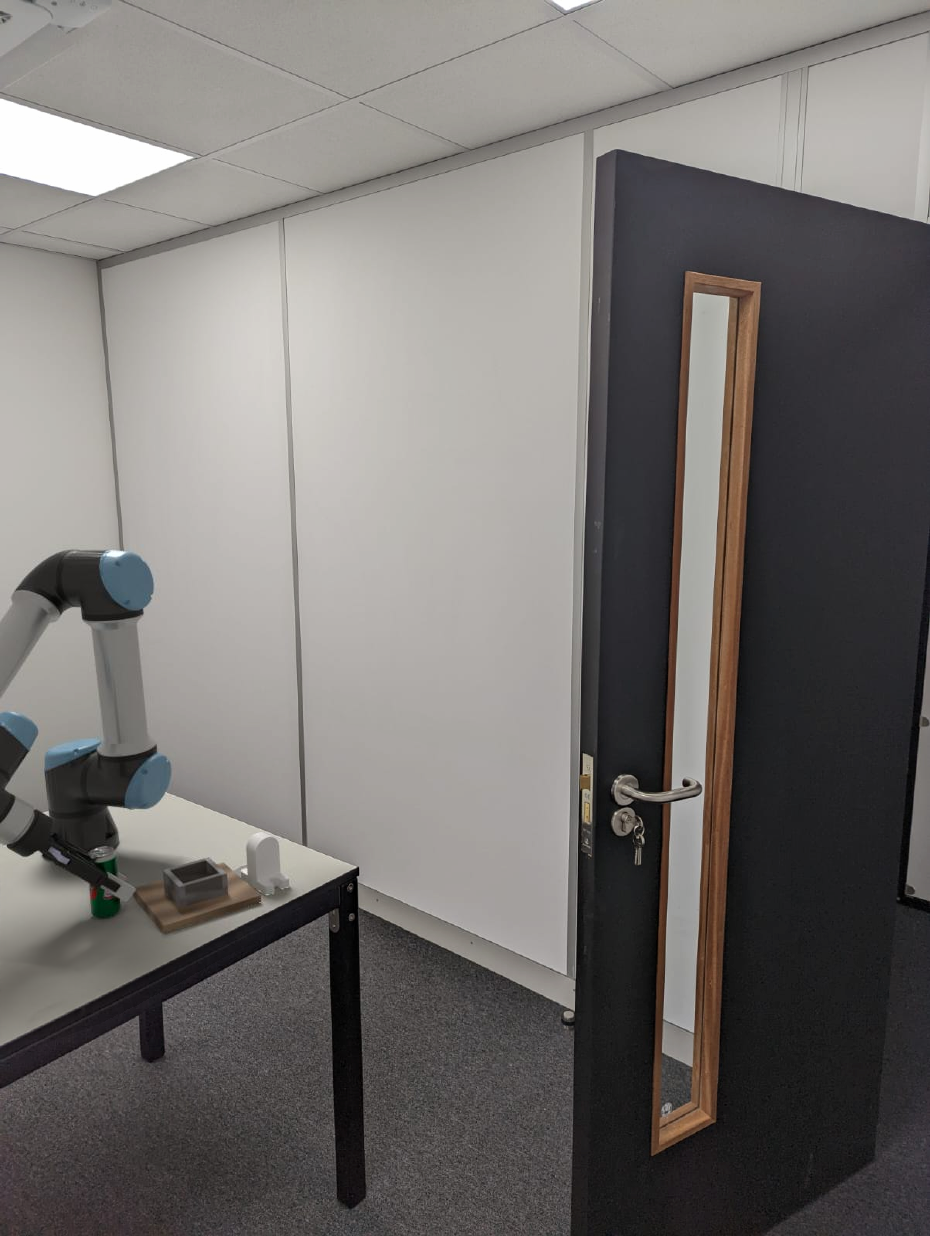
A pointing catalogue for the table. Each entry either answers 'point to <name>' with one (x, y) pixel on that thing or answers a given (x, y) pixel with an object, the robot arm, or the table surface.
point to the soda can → (100, 898)
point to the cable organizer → (263, 864)
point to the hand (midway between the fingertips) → (125, 889)
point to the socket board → (195, 894)
